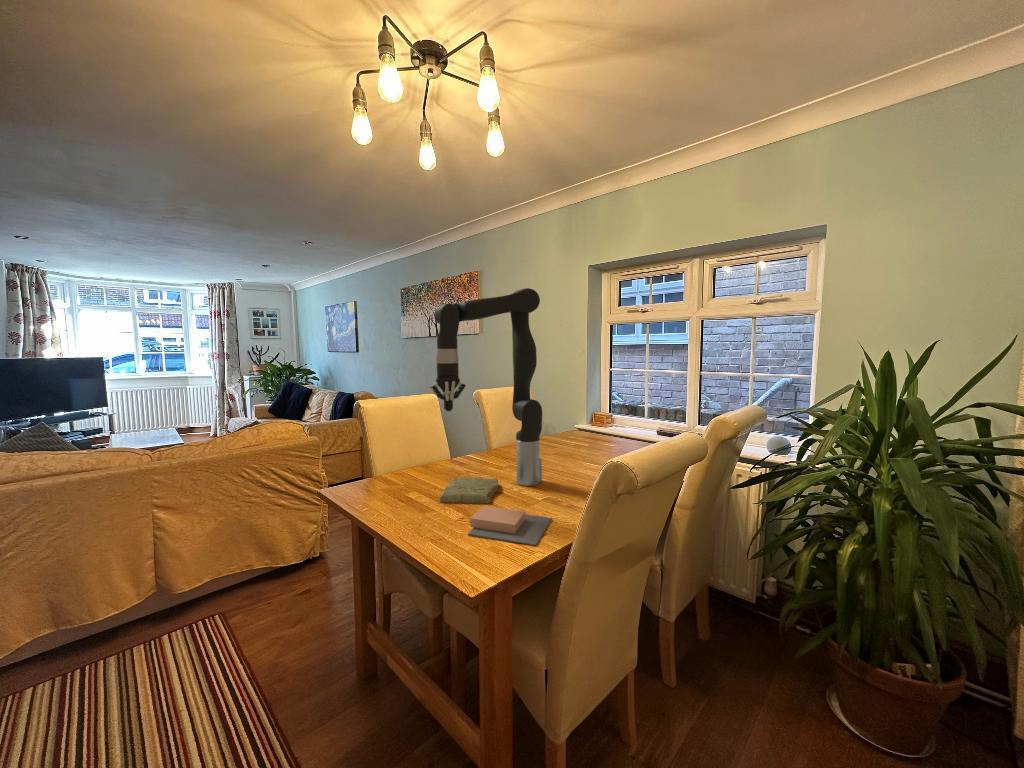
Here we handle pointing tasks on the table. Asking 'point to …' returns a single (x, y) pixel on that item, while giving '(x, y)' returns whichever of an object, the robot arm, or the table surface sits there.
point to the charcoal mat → (518, 531)
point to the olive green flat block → (469, 490)
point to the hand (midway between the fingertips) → (448, 410)
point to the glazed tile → (498, 519)
